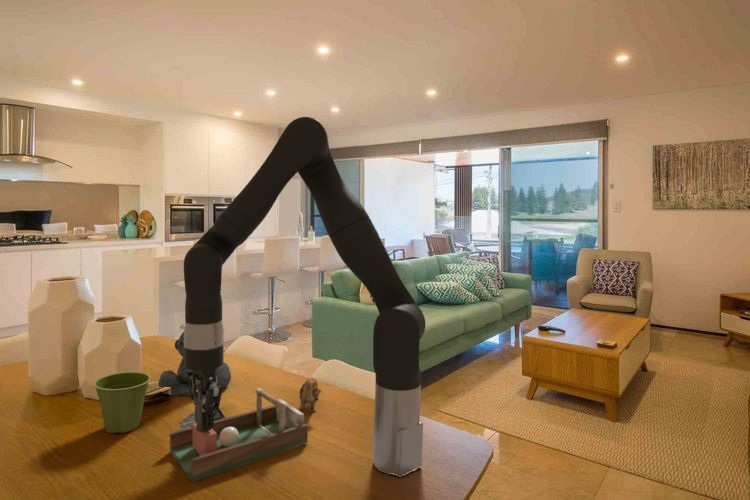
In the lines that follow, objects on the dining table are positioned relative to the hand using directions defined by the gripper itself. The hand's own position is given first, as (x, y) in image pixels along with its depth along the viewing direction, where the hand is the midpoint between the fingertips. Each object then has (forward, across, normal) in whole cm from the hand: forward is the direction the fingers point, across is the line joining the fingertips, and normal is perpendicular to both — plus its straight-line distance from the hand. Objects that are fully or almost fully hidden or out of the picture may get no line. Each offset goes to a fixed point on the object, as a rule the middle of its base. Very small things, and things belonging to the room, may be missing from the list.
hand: (204, 425), depth 98 cm
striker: (+6, 0, 0) cm, 6 cm away
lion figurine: (+7, +9, -31) cm, 33 cm away
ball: (+4, 0, -5) cm, 7 cm away
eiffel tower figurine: (+8, +19, -8) cm, 22 cm away
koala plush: (+7, +40, -13) cm, 43 cm away
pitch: (+7, 0, -8) cm, 11 cm away
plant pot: (+7, +25, +10) cm, 28 cm away
